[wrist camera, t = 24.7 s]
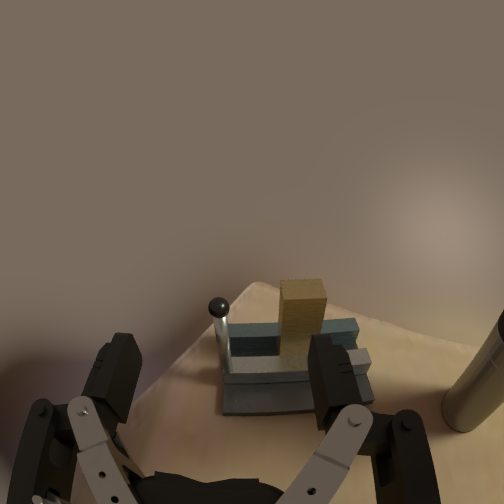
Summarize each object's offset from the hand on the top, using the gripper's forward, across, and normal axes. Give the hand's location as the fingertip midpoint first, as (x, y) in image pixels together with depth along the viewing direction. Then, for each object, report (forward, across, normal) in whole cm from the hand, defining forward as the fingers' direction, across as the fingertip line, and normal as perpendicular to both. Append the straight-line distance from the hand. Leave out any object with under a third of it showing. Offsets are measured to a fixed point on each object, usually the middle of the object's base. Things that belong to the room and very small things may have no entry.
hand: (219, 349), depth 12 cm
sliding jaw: (+16, -8, +27) cm, 32 cm away
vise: (+19, -8, +28) cm, 35 cm away
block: (+20, -8, +27) cm, 34 cm away
